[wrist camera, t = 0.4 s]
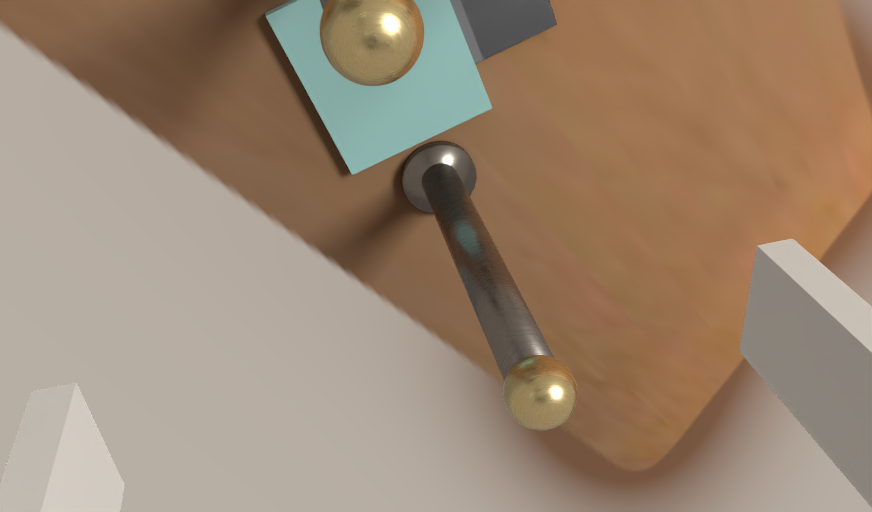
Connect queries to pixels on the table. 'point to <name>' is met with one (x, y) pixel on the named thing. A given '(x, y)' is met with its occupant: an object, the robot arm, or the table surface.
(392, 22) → the posts
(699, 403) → the table surface
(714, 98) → the table surface
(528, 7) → the track
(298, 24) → the pad
